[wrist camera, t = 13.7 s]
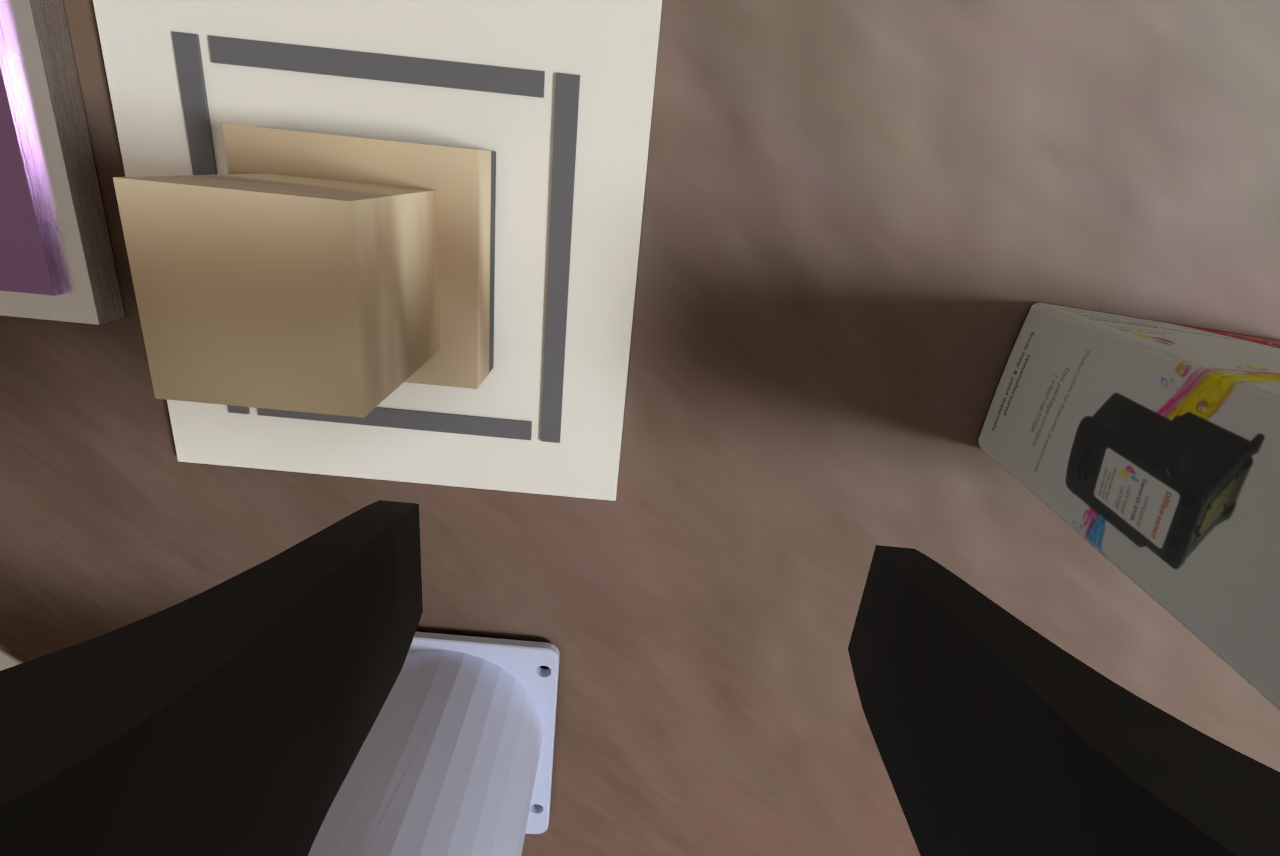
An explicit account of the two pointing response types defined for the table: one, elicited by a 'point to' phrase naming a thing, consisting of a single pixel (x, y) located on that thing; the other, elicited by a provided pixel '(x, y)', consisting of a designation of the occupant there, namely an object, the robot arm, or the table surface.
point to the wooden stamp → (315, 271)
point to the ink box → (1157, 464)
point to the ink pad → (49, 178)
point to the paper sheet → (447, 116)
